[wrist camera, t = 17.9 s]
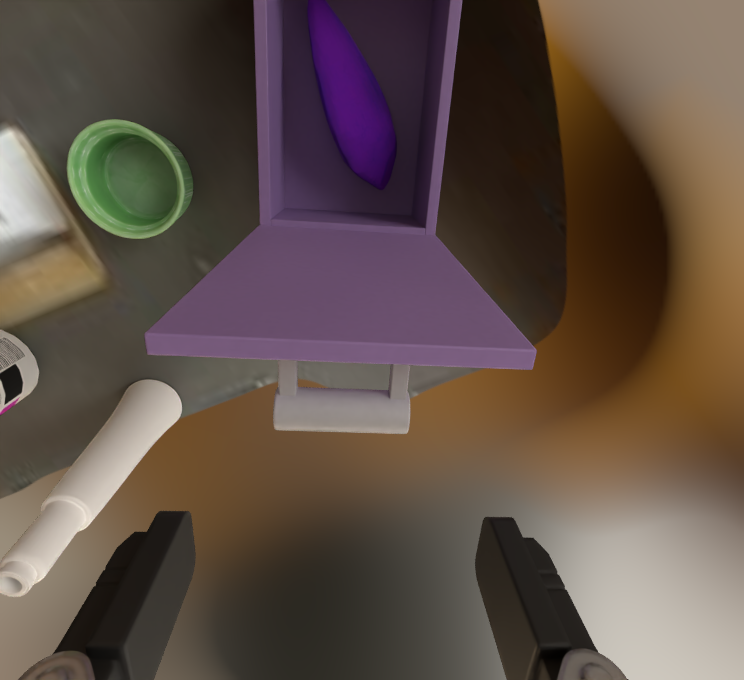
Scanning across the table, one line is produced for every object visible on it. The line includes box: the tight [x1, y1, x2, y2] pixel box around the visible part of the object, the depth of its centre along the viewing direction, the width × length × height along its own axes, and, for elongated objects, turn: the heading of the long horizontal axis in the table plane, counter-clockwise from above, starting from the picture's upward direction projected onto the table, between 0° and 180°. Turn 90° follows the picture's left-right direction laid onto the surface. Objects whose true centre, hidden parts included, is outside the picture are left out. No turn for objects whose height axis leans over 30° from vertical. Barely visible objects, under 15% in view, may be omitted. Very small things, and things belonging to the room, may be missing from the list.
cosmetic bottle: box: [0, 379, 182, 597], centre depth 38 cm, size 6×6×22 cm
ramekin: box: [67, 119, 193, 239], centre depth 38 cm, size 9×9×4 cm
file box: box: [253, 0, 462, 236], centre depth 34 cm, size 19×13×9 cm
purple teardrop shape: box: [307, 0, 397, 190], centre depth 35 cm, size 5×5×15 cm
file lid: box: [144, 225, 537, 434], centre depth 25 cm, size 20×13×5 cm
